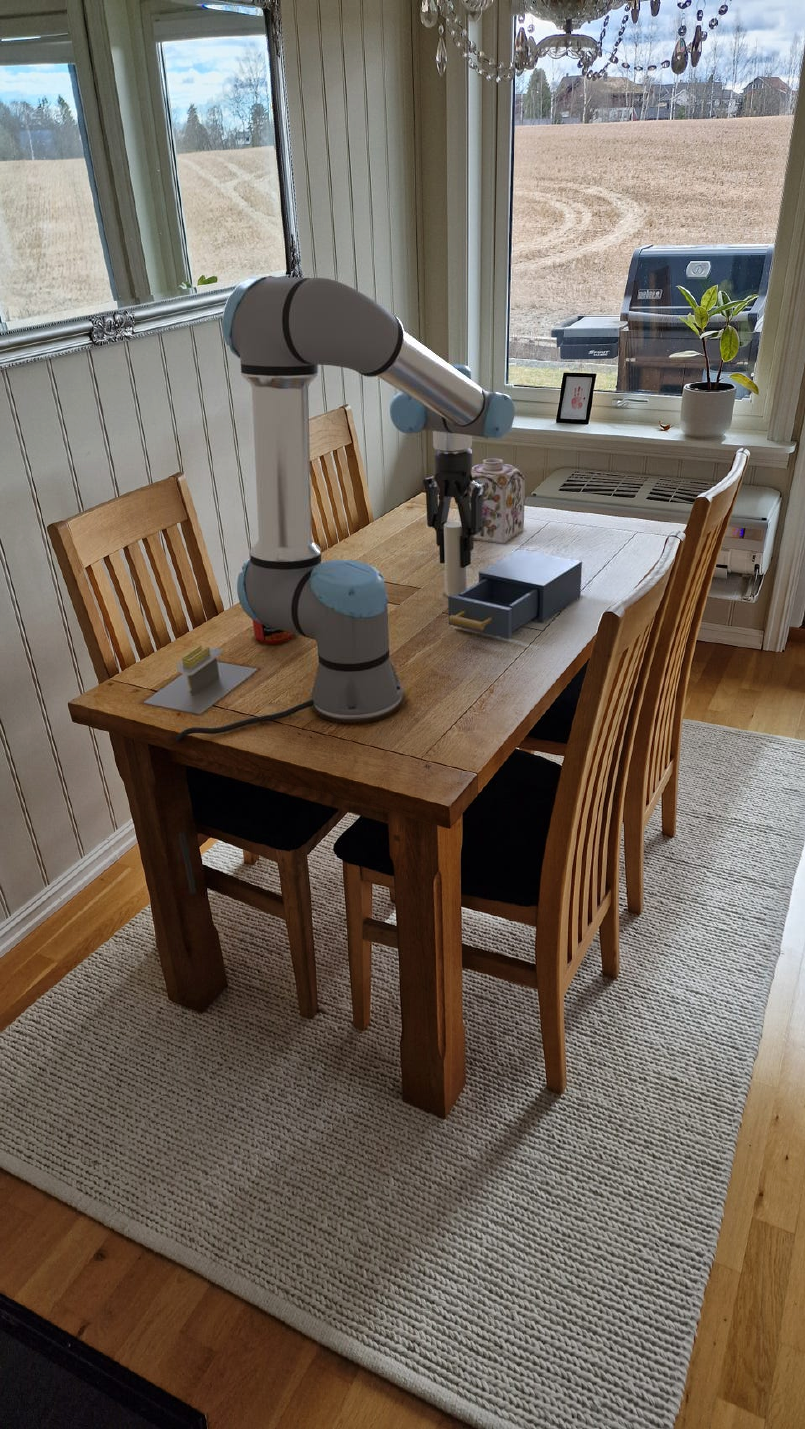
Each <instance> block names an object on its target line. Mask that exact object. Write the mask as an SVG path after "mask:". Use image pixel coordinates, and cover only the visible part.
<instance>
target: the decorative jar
mask: <svg viewBox="0 0 805 1429" xmlns="http://www.w3.org/2000/svg"><path fill="white" fill-rule="evenodd" d="M471 474H472V477H473V481H474V482H476V483H478V484H479V485H480V484H484V485H485V491H484V493H483V524H482V532H480V533H478V534H476V535H474V541H482V542H489V543H495V544H503V545H504V544H506V543H507V542H508V541H510V540H511V539H512V538H514V537H515V536H517V535H518V534H519V533H521V532H522V531H524V527H525V499H526V498H525V497H526V496H525V486H526V484H525V482H526V477H525V476H524V474H523V473H522V472H521V470H519V468H516V467H515V466H514V465H513V464H506V463H504V460H503V459H501V458H496V457H495V458H493V457H492V458H491V457H490V458H485V459H483V460H482V463H481V464H476V465H473V466H472V471H471ZM470 491H471V488H470V489H469V490H468V492H469V497H470V499H469V504H470V509H471V495H472V494H471V493H470Z"/></svg>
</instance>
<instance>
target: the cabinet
mask: <svg viewBox="0 0 805 1429" xmlns="http://www.w3.org/2000/svg"><path fill="white" fill-rule="evenodd" d="M582 569H583V561H582V560H577V559H573V558H566V557H561V556H556V555H551V554H546V553H541V552H535V551H529V550H524V549H518V550H516V551H514V552H511V553H510V554H508V555H507V556H505V557H503V558H502V559H500V560H498V561H496V562H494V563H493V564H491V565H489V566H487V567H486V568H484V569H482V570H480V571H479V572H478V582H480V581H481V580H483V579H485V578H491V579H495V580H500V581H505V582H510V583H514V584H519V585H524V586H528V587H533V588H538V589H540V607H539V614H538V615H537V616H535V617H534V618H532V619H531V620H530V621H532V622H533V621H534V622H538V623H544V622H546V621H548V620H549V619H550V618H552V617H553V616H554V615H556V614H558V613H559V612H560V611H562V610H563V609H565V608H566V607H567V606H569V605H570V604H572V603H574V602H575V601H576V600H579V598H581V590H582V571H583V570H582Z"/></svg>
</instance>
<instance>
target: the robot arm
mask: <svg viewBox="0 0 805 1429" xmlns="http://www.w3.org/2000/svg"><path fill="white" fill-rule="evenodd" d="M221 321H222V322H221V325H222V326H221V327H222V335H223V340H224V341H225V344H226V346H229V350H230V352H231V353H232V354H233V355H234V356H236V357H237V358H238V359H239V360H240V375H241V376H242V378H244V380H246V381H247V382H248V383H249V385H250V386H251V395H252V396H251V397H252V398H251V399H252V400H251V401H252V420H253V443H254V444H253V446H254V466H255V485H256V486H255V487H256V508H257V530H258V540H257V542H256V543H255V544H254V545H253V546H252V547H251V548H250V549H249V558H248V559H246V561H245V562H243V565H242V566H241V570H242V571H241V572H239V573H238V576H237V580H236V591H237V597H238V602H239V604H240V606H241V608H242V610H243V611H244V613H245V614H246V615H247V616H248V617H249V618H250V619H251V620H252V619H253V620H254V621H256V622H259V623H261V624H264V625H265V626H267V627H269V628H272V629H279V630H283V631H286V632H290V633H293V635H298V636H301V637H304V638H308V639H311V640H314V641H315V642H316V647H317V658H318V666H317V670H316V674H315V678H314V683H313V686H312V690H311V695H310V700H307V701H305V702H303V703H300V704H297V705H295V706H293V707H291V708H289V709H286V710H284V711H281V712H280V711H279V712H277V713H273V714H272V713H271V714H265V715H260V716H255V717H251V718H247V719H243V720H239V721H237V722H233V723H230V724H227V725H222V726H218V727H202V726H201V727H200V726H198V727H197V726H196V727H195V726H192V727H188V728H186V729H184V730H182V731H181V732H180V733H179V734H178V735H177V736H176V737H175V739H174V741H176V742H179V741H182V740H183V739H184V738H185V737H187V736H188V735H192V734H204V735H205V734H206V735H214V734H221V733H226V732H231V731H233V730H236V729H239V728H242V727H245V726H249V725H254V724H257V723H263V722H269V721H275V720H279V719H283V718H287V717H288V716H289V717H290V716H291V715H293V714H296V713H297V712H300V711H302V710H305V709H307V708H310V707H311V708H312V711H313V712H314V714H316V716H318V717H320V718H321V719H323V720H326V721H328V722H331V723H336V724H342V725H361V724H369V723H373V722H378V721H381V720H383V719H385V718H388V717H390V716H392V715H393V714H395V713H397V712H398V711H399V710H400V708H401V707H402V706H403V704H404V691H403V687H402V684H401V682H400V679H399V676H398V675H397V671H396V670H395V667H394V665H393V662H392V660H391V655H390V653H391V652H390V634H389V609H388V607H389V606H388V605H389V604H388V603H389V599H388V593H387V590H386V582H385V579H384V577H383V575H382V573H381V572H380V571H379V570H378V569H377V568H375V566H373V565H370V564H368V563H366V562H362V561H360V560H354V559H347V560H343V559H330V560H325V561H322V549H321V547H320V546H319V545H318V544H317V543H316V542H315V541H313V540H314V539H313V538H312V537H313V536H312V534H313V533H312V497H311V496H312V494H311V492H312V491H311V490H312V489H311V451H310V411H309V410H310V408H309V406H310V405H309V386H310V385H311V383H312V382H313V381H314V380H315V379H316V378H317V377H318V376H319V366H331V367H332V366H333V367H339V368H345V369H350V370H352V371H354V372H356V373H358V374H360V375H362V376H363V377H367V378H375V377H378V378H379V379H381V380H383V381H384V382H386V383H387V384H389V385H391V386H392V387H393V388H395V389H397V390H398V391H400V392H398V393H397V394H395V395H394V396H393V398H392V399H391V401H390V404H389V416H390V420H391V422H392V424H393V426H394V427H395V428H396V429H397V431H399V432H401V433H403V434H406V435H411V434H418V433H420V432H421V431H422V432H423V431H429V432H432V445H433V449H434V451H433V469H434V470H435V472H434V475H431V476H428V477H426V478H424V479H423V480H422V484H423V487H424V490H425V504H426V505H425V506H426V524H427V526H428V528H432V529H434V531H435V534H436V535H435V538H436V539H435V542H436V546H437V547H439V564H445V555H444V523H446V522H448V519H449V513H450V507H451V501H452V498H453V499H454V503H455V504H456V505H457V510H458V515H459V519H460V520H459V521H461V525H462V530H463V535H461V536H460V567H461V568H465V567H466V568H467V567H469V566H470V565H472V551H474V548H475V540H474V535H476V534H478V533H480V532H482V524H483V493H484V491H485V485H484V484H480V485H479V484H478V483H476V482H474V481H473V477H472V474H471V471H472V467H474V465H473V450H472V449H471V448H472V447H473V437H480V438H484V439H489V438H490V439H502V438H504V437H506V436H507V435H508V434H509V432H510V431H511V429H512V427H513V423H514V420H515V413H516V412H515V411H516V410H515V405H514V401H513V399H512V398H511V396H509V395H508V394H505V393H500V392H498V391H492V392H491V391H487V390H485V389H484V388H482V387H481V386H479V385H478V384H476V383H475V382H474V381H472V372H471V369H470V367H468V366H467V365H465V364H460V363H448V362H446V361H445V360H444V359H442V358H441V357H439V356H438V355H437V354H435V353H434V352H433V351H432V350H430V349H428V347H426V346H425V345H423V344H422V343H420V342H419V341H418V340H416V339H415V338H414V337H413V336H411V335H409V334H408V333H407V332H406V331H404V330H405V329H404V326H403V324H402V322H401V320H400V319H399V318H398V317H397V316H396V315H395V314H394V313H392V312H390V310H388V309H386V307H384V306H383V305H381V304H379V303H378V302H376V301H375V300H374V299H372V298H370V297H368V296H367V295H366V294H364V293H362V292H360V291H358V290H357V289H356V288H353V287H351V286H349V285H347V284H345V283H342V282H340V281H337V280H335V279H330V278H325V277H287V276H284V277H283V276H273V275H268V276H260V277H252V278H248V279H245V280H244V281H242V282H240V283H239V284H238V285H237V286H236V287H235V288H234V290H233V291H232V293H230V294H229V296H228V298H227V300H226V302H225V305H224V308H223V312H222V319H221ZM470 488H471V491H470V493H471V494H472V495H471V509H470V504H469V499H470V497H469V492H468V490H469V489H470ZM438 489H439V492H438ZM321 561H322V562H323V563H321ZM253 620H252V621H253ZM178 838H179V843H180V849H181V852H182V857H183V861H184V866H185V871H186V876H187V883H188V889H189V893H190V894H191V895H193V894H196V886H195V880H194V873H193V869H192V864H191V860H190V854H189V850H188V845H187V841H186V836H185V832H184V831H182V832H179V833H178Z"/></svg>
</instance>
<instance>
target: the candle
mask: <svg viewBox="0 0 805 1429" xmlns="http://www.w3.org/2000/svg"><path fill="white" fill-rule="evenodd" d="M461 535H463V530H462V525H461V520H449V521H447V522H446V523H444V555H445V563H444V588H445V590H444V591H445V596H447V597H448V596H450V595H451V594H452V595H456V596H459V593H461V592H462V591H464V590H466V589H468V588H467V566H466V567H465V568H461V567H460V536H461Z"/></svg>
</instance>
